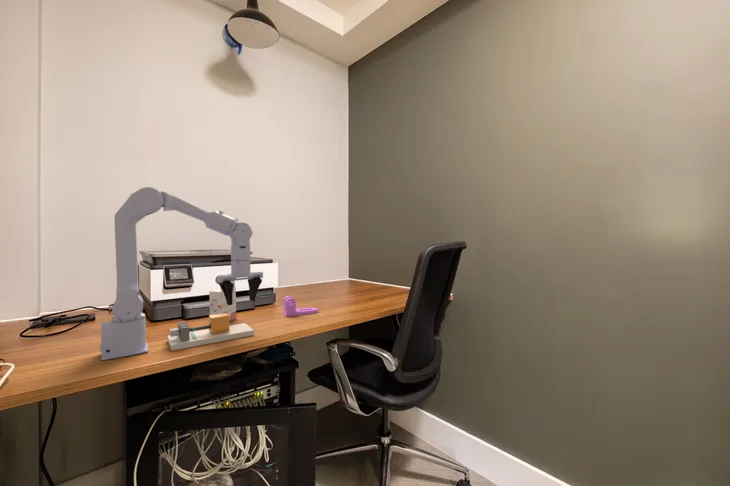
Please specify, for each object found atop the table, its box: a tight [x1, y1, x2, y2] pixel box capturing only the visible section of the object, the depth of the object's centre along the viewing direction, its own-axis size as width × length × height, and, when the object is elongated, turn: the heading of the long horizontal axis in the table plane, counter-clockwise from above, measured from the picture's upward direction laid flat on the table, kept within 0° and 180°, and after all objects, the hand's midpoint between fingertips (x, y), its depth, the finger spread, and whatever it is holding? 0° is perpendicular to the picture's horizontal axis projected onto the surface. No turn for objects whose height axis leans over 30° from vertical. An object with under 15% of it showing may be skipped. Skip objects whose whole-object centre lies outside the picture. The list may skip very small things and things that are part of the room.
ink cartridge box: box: [208, 281, 237, 322], centre depth 112 cm, size 9×5×15 cm, turn 168°
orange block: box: [208, 313, 230, 334], centre depth 95 cm, size 5×4×5 cm
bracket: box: [283, 295, 319, 317], centre depth 124 cm, size 13×6×7 cm, turn 113°
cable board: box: [167, 320, 255, 352], centre depth 94 cm, size 22×10×5 cm, turn 127°
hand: (241, 302), depth 99 cm, fingers open, 7 cm apart
